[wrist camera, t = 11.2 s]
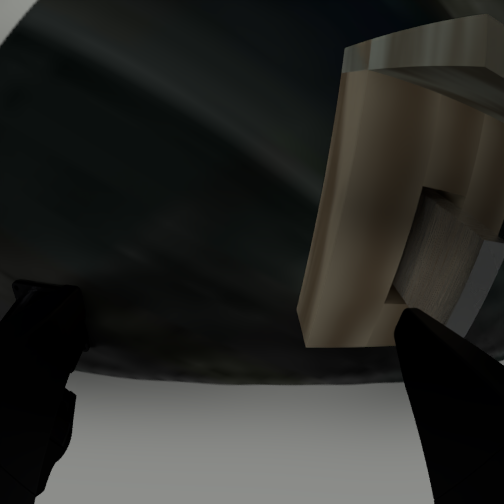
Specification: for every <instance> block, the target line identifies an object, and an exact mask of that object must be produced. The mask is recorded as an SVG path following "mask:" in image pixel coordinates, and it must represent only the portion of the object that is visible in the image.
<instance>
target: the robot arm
mask: <svg viewBox="0 0 504 504" xmlns="http://www.w3.org/2000/svg"><path fill="white" fill-rule="evenodd" d="M12 288H13V291H14V294H15V298H16V302H15V303H14V304H13V305H12V307H11V308H10V309H9V311H8V312H7V313H6V315H5V316H4V317H3V319H2V320H1V321H0V504H34V502H35V497H36V496H38V495H39V494H41V493H42V492H43V491H44V489H45V486H46V483H47V480H48V477H49V475H50V472H51V470H52V468H53V466H54V464H55V463H56V462H57V461H58V460H59V459H60V458H61V457H62V456H63V455H64V453H65V451H66V450H67V447H68V445H69V443H70V440H71V436H72V427H73V417H74V409H75V402H76V395H75V394H74V393H73V392H71V391H68V390H67V389H66V388H65V386H66V383H67V380H68V377H69V374H70V373H72V372H73V371H74V370H75V367H76V365H77V363H78V360H79V358H80V356H81V354H82V351H84V352H87V351H88V350H89V348H90V345H89V341H88V338H89V337H88V334H87V330H86V326H85V322H84V321H85V316H86V313H85V307H84V303H83V298H82V293H81V290H80V288H79V287H78V286H72V285H64V286H62V287H57V286H50V285H43V284H37V283H30V282H24V281H18V280H16V281H15V282H14V283H13V284H12ZM394 340H395V344H396V348H397V353H398V357H399V362H400V367H401V371H402V376H403V380H404V383H405V387H406V390H407V394H408V397H409V400H410V404H411V407H412V411H413V414H414V418H415V421H416V425H417V429H418V433H419V436H420V440H421V444H422V448H423V452H424V456H425V460H426V465H427V469H428V474H429V478H430V483H431V487H432V492H433V498H434V504H504V365H502V364H501V363H499V362H498V361H497V360H495V359H494V358H492V357H491V356H489V355H488V354H486V353H485V352H484V351H482V350H481V349H479V348H478V347H476V346H475V345H473V344H472V343H470V342H469V341H467V340H466V339H464V338H463V337H461V336H460V335H458V334H457V333H455V332H454V331H452V330H451V329H449V328H448V327H446V326H445V325H443V324H442V323H440V322H439V321H437V320H436V319H434V318H433V317H431V316H429V315H428V314H426V313H425V312H423V311H422V310H420V309H418V308H405V309H404V310H403V312H402V314H401V316H400V318H399V321H398V323H397V325H396V327H395V330H394Z"/></svg>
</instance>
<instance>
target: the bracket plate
mask: <svg viewBox="0 0 504 504" xmlns="http://www.w3.org/2000/svg"><path fill="white" fill-rule="evenodd" d="M503 259H504V240H503V239H502V238H500V237H499V236H498V235H496V234H495V233H494V232H492V231H491V230H490V229H488V228H487V227H486V226H484V225H483V224H482V223H480V222H479V221H478V220H476V219H475V218H474V217H472V216H471V215H469V214H468V213H466V212H465V211H464V210H462V209H461V208H459V207H458V206H456V205H455V204H453V203H452V202H450V201H449V200H447V199H446V198H444V197H443V196H441V195H440V194H438V193H437V192H435V191H434V190H432V189H431V188H428V187H424V186H423V187H422V190H421V194H420V198H419V201H418V205H417V209H416V212H415V216H414V219H413V222H412V226H411V229H410V232H409V235H408V238H407V241H406V245H405V248H404V251H403V254H402V257H401V259H400V262H399V265H398V268H397V271H396V274H395V276H394V279H393V282H392V283H393V285H394V286H395V288H396V289H397V291H398V292H399V294H400V295H401V297H402V298H403V300H404V301H405V303H406V304H407V306H408V307H409V308H418V309H420V310H422V311H423V312H425V313H426V314H428V315H429V316H431V317H433V318H434V319H436V320H437V321H439V322H440V323H442V324H443V325H445V326H446V327H448V328H449V329H451V330H452V331H454V332H455V333H457V334H458V335H460V336H461V337H463V338H464V337H465V335H466V334H467V332H468V330H469V328H470V327H471V325H472V323H473V321H474V319H475V317H476V316H477V314H478V312H479V310H480V308H481V306H482V304H483V302H484V300H485V298H486V296H487V294H488V292H489V290H490V288H491V286H492V284H493V282H494V279H495V277H496V275H497V273H498V271H499V268H500V266H501V264H502V261H503Z"/></svg>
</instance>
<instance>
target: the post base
mask: <svg viewBox="0 0 504 504" xmlns="http://www.w3.org/2000/svg"><path fill="white" fill-rule="evenodd" d="M423 186H424V187H428V188H431V189H432V190H434V191H435V192H437V193H438V194H440V195H441V196H443V197H444V198H446V199H447V200H449V201H450V202H452V203H453V204H455V205H456V206H458V207H459V208H461V209H462V210H464V211H465V212H466V213H468V214H469V215H471V216H472V217H474V218H475V219H476V220H478V221H479V222H480V223H482V224H483V225H484V226H486V227H487V228H488V229H490V230H491V231H492V232H494V233H495V234H496V235H498V234H499V231H500V228H501V225H502V223H503V220H504V25H503V24H502V23H500V22H499V21H497V20H496V19H494V18H493V17H491V16H490V15H488V14H483V15H476V16H469V17H463V18H457V19H452V20H446V21H441V22H437V23H432V24H427V25H423V26H419V27H415V28H411V29H407V30H403V31H399V32H395V33H392V34H388V35H385V36H381V37H378V38H375V39H371V40H368V41H365V42H362V43H359V44H356V45H353V46H350V47H347V48H345V51H344V59H343V67H342V74H341V81H340V88H339V95H338V102H337V109H336V115H335V121H334V127H333V134H332V140H331V145H330V151H329V157H328V163H327V168H326V174H325V179H324V184H323V190H322V195H321V200H320V205H319V210H318V215H317V220H316V225H315V230H314V234H313V239H312V244H311V248H310V253H309V258H308V262H307V267H306V271H305V275H304V280H303V284H302V288H301V293H300V297H299V301H298V305H297V313H298V317H299V321H300V325H301V329H302V334H303V338H304V342H305V346H306V347H307V348H336V347H377V346H396V344H395V340H394V330H395V327H396V325H397V323H398V321H399V318H400V316H401V314H402V312H403V310H404V309H405V308H409V307H408V306H407V304H406V303H405V301H404V300H403V298H402V297H401V295H400V294H399V292H398V291H397V289H396V288H395V286H394V285H393V283H392V282H393V279H394V276H395V274H396V271H397V268H398V265H399V262H400V259H401V257H402V254H403V251H404V248H405V245H406V241H407V238H408V235H409V232H410V229H411V226H412V222H413V219H414V216H415V212H416V209H417V205H418V201H419V198H420V194H421V190H422V187H423Z"/></svg>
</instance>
